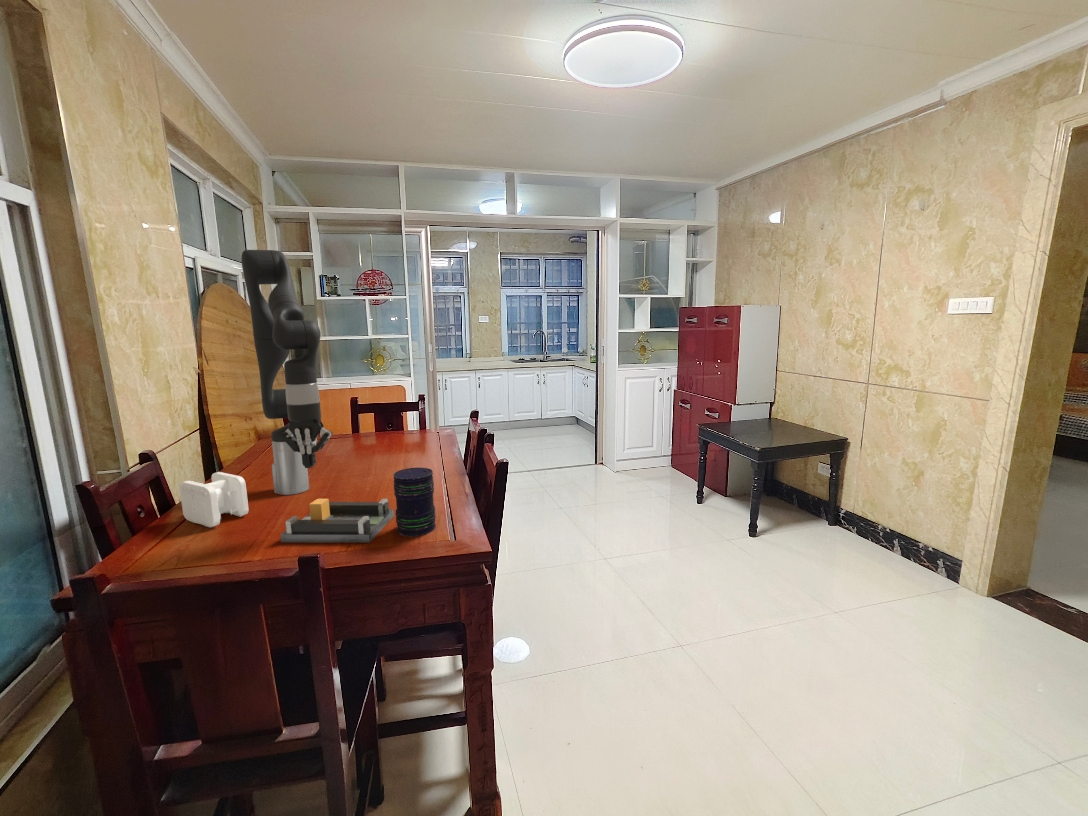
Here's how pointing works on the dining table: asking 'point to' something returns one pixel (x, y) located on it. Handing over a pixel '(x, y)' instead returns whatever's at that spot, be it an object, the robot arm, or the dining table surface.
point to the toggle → (320, 510)
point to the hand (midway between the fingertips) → (309, 467)
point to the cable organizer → (214, 499)
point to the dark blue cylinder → (414, 501)
